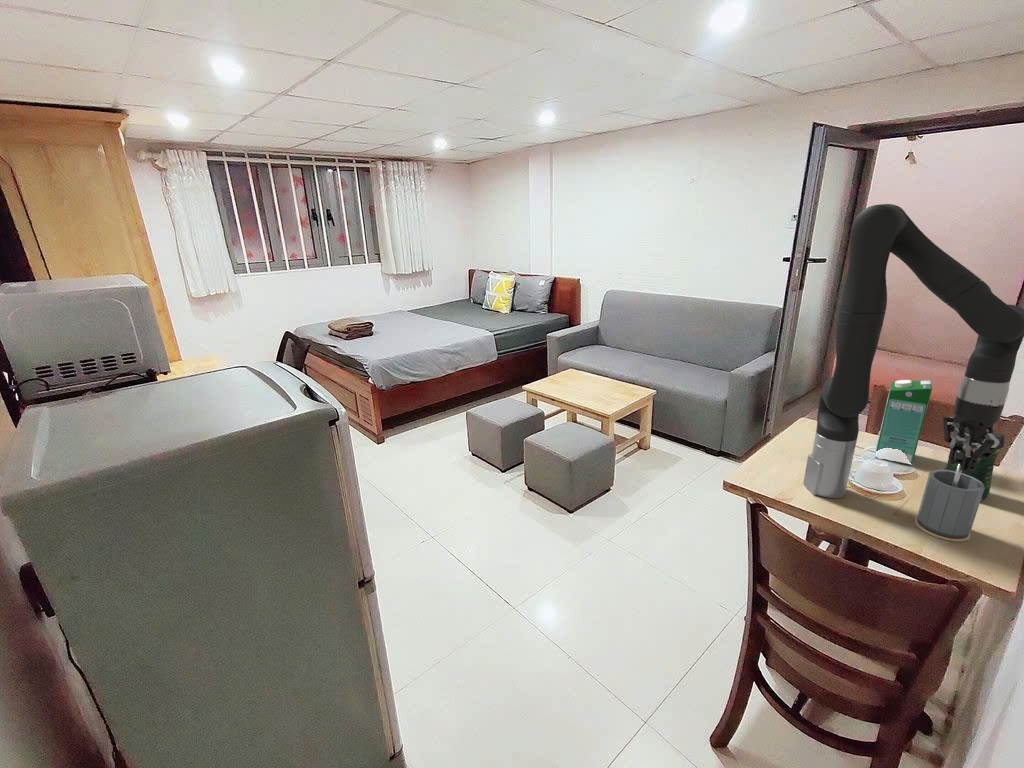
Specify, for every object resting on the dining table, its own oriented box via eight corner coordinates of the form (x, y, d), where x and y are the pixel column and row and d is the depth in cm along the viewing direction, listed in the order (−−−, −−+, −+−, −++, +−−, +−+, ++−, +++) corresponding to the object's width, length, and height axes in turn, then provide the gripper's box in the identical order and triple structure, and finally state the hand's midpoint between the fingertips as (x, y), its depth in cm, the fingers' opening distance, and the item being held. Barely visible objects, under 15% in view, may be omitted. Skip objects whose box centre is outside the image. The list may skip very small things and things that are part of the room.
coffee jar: (992, 495, 124) (1013, 432, 118) (977, 504, 121) (998, 440, 115) (947, 479, 132) (965, 419, 126) (932, 486, 129) (950, 426, 123)
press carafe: (934, 541, 109) (949, 491, 104) (904, 515, 118) (917, 468, 114) (981, 542, 108) (998, 491, 103) (948, 516, 117) (962, 469, 112)
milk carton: (876, 446, 152) (893, 374, 144) (912, 454, 147) (931, 379, 138) (874, 457, 146) (891, 383, 137) (911, 465, 140) (932, 388, 132)
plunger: (939, 529, 109) (960, 457, 103) (918, 513, 116) (938, 444, 109) (970, 530, 109) (993, 457, 102) (948, 513, 115) (969, 444, 108)
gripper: (937, 386, 108) (920, 452, 114) (989, 410, 95) (967, 483, 101) (973, 386, 108) (954, 452, 113) (1030, 409, 94) (1005, 483, 100)
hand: (960, 466), depth 107 cm, fingers closed on plunger, 3 cm apart
